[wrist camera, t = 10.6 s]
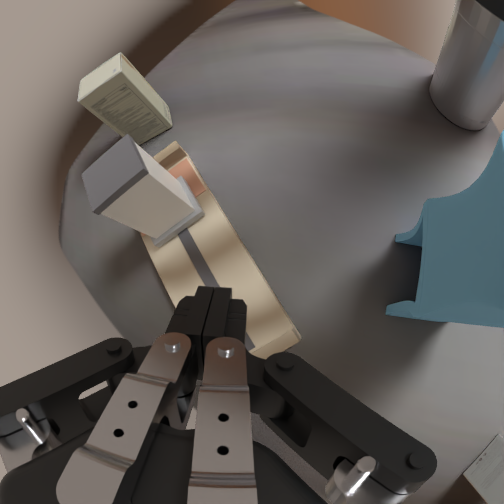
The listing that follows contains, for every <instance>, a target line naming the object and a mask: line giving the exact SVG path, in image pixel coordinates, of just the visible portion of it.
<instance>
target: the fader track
mask: <svg viewBox="0 0 504 504" xmlns="http://www.w3.org/2000/svg"><path fill="white" fill-rule="evenodd" d="M153 159H154V160H155V161H157V162H158V163H159V164H160V165H161V166H162V167H163V168H164V169H165V170H167V171H168V172H169V173H170V174H171V175H172V176H173V177H174V178H176V179H177V178H178V177H179V176H182V177H183V178H184V179H185V180H186V182H187V184H188V185H189V187H190V189H191V191H192V192H193V194H194V196H195V198H196V199H197V201H198V203H199V204H200V206H201V208H202V210H203V211H204V213H205V215H204V216H202V217H201V218H200V219H198V220H197V221H195V222H194V223H192V224H191V225H190V226H188V227H187V228H185V229H184V230H183V231H181V232H180V233H179V234H177V235H176V236H174V237H173V238H172V239H170V240H169V241H168V242H166V243H165V244H163V245H162V246H161V247H156V246H154V244H153V242H152V240H151V237H150V236H148V235H146V234H144V233H142V232H140V231H139V232H140V235H141V237H142V239H143V241H144V244H145V246H146V248H147V250H148V252H149V255H150V257H151V259H152V261H153V263H154V265H155V267H156V270H157V272H158V274H159V276H160V278H161V280H162V282H163V284H164V286H165V288H166V290H167V292H168V294H169V296H170V298H171V300H172V302H173V304H174V306H175V308H176V307H177V305H178V303H179V301H180V300H181V299H183V298H184V297H185V296H195V293H196V290H197V288H198V286H211V287H227V288H232V299H243V300H244V302H245V304H246V305H247V321H246V340H245V347H246V349H247V350H248V351H249V352H250V353H251V354H252V355H254V356H256V357H259V358H263V359H267V358H268V357H269V356H270V355H272V354H274V353H279V352H283V351H284V350H286V349H288V348H289V347H291V346H293V345H294V344H296V343H298V342H299V341H300V340H301V338H302V337H301V335H300V334H299V332H298V331H297V329H296V327H295V326H294V324H293V323H292V321H291V319H290V318H289V316H288V315H287V313H286V311H285V310H284V308H283V307H282V305H281V303H280V302H279V300H278V299H277V297H276V295H275V294H274V292H273V291H272V289H271V287H270V286H269V284H268V283H267V281H266V279H265V278H264V276H263V275H262V273H261V271H260V270H259V268H258V267H257V265H256V263H255V262H254V260H253V259H252V257H251V255H250V254H249V252H248V250H247V249H246V247H245V246H244V244H243V242H242V241H241V239H240V238H239V236H238V234H237V233H236V231H235V230H234V228H233V226H232V225H231V223H230V222H229V220H228V218H227V217H226V215H225V213H224V212H223V210H222V209H221V207H220V205H219V204H218V202H217V201H216V199H215V197H214V196H213V194H212V193H211V191H210V189H209V188H208V186H207V184H206V183H205V181H204V180H203V178H202V176H201V175H200V173H199V172H198V170H197V168H196V167H195V165H194V163H193V162H192V160H191V159H190V157H189V155H188V154H187V153H186V152H185V151H184V150H183V148H182V147H181V146H180V145H179V144H178V143H177V142H176V141H174V142H173V143H171V144H170V145H169V146H167V147H166V148H165V149H163V150H162V151H161V152H159V153H158V154H157V155H155V156H154V157H153Z"/></svg>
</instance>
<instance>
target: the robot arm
mask: <svg viewBox="0 0 504 504" xmlns="http://www.w3.org/2000/svg"><path fill="white" fill-rule="evenodd" d="M429 92H430V96H431V99H432V101H433V103H434V104H435V106H436V107H437V109H438V110H439V111H440V112H441V113H442V114H443V115H444V116H445V117H446V118H447V119H448V120H450V121H451V122H453V123H454V124H456V125H458V126H460V127H462V128H465V129H468V130H480V129H483V128H484V127H485V126H486V125H487V124H488V123H489V121H490V120H491V118H492V117H493V115H494V114H495V113H496V111H497V110H498V109H499V107H500V106H501V104H502V103H503V101H504V0H456V4H455V7H454V11H453V15H452V19H451V22H450V25H449V27H448V30H447V34H446V37H445V40H444V43H443V46H442V50H441V53H440V56H439V59H438V62H437V65H436V68H435V70H434V75H433V78H432V81H431V84H430V86H429ZM246 321H247V305H246V304H245V302H244V300H243V299H232V288H227V287H211V286H198V288H197V290H196V293H195V296H185V297H184V298H183V299H181V300H180V301H179V303H178V305H177V307H176V310H175V312H174V315H173V316H172V318H171V321H170V323H169V325H168V328H167V330H166V332H165V334H163V335H161V336H159V337H158V338H157V339H156V340H155V342H154V343H153V345H151V346H147V347H137V348H132V345H131V343H130V342H129V341H128V340H126V339H123V338H110V339H107V340H105V341H102V342H100V343H98V344H96V345H94V346H91V347H89V348H87V349H85V350H83V351H80V352H78V353H76V354H74V355H72V356H69V357H67V358H65V359H63V360H61V361H58V362H56V363H54V364H52V365H49V366H47V367H45V368H43V369H40V370H38V371H36V372H34V373H31V374H29V375H27V376H25V377H22V378H20V379H18V380H16V381H13V382H11V383H8V384H6V385H4V386H2V387H0V454H1V457H2V460H3V463H4V465H5V468H6V470H7V474H6V475H5V476H4V477H3V479H2V481H1V483H0V504H328V503H327V502H326V501H324V500H323V499H322V498H321V497H320V496H319V495H318V494H317V493H316V492H315V491H314V490H312V489H311V488H310V487H309V486H308V485H307V484H306V483H305V482H304V481H303V480H302V479H301V478H300V477H299V476H298V475H297V474H296V473H295V472H294V471H293V470H292V469H291V468H290V467H289V466H288V465H287V464H286V463H285V462H284V461H283V460H282V459H281V458H280V457H279V456H278V455H277V454H276V453H275V452H273V451H272V450H271V449H269V448H268V447H266V446H264V445H262V444H260V443H258V442H255V441H253V440H252V429H251V413H250V412H253V413H256V414H259V415H260V417H261V419H262V420H263V421H264V422H265V423H266V424H267V425H268V426H269V427H270V428H271V429H272V430H273V431H274V432H275V433H276V434H277V435H278V436H279V437H280V438H281V439H282V440H283V441H284V442H285V443H286V444H287V445H288V446H290V447H291V448H292V449H293V450H294V451H295V452H296V453H297V454H298V455H299V456H300V457H302V458H303V459H304V460H305V461H306V462H307V463H308V464H310V465H311V466H312V467H313V468H314V469H315V470H316V471H318V472H319V473H320V474H321V475H322V476H324V477H325V478H326V479H327V480H328V481H327V483H326V487H325V492H326V495H327V497H328V499H329V500H330V501H331V502H332V503H333V504H401V503H402V502H403V501H405V500H406V499H407V498H408V497H410V496H411V495H412V494H413V493H415V492H416V491H417V490H418V489H419V488H420V487H421V485H422V484H423V483H425V482H426V481H427V480H428V479H429V478H430V477H431V476H432V475H433V474H434V472H435V470H436V467H437V459H436V456H435V454H434V452H433V451H432V450H431V449H430V448H429V447H427V446H426V445H424V444H422V443H421V442H419V441H418V440H416V439H415V438H413V437H412V436H410V435H409V434H407V433H405V432H404V431H402V430H401V429H399V428H398V427H396V426H395V425H393V424H392V423H390V422H389V421H388V420H386V419H385V418H383V417H382V416H380V415H379V414H377V413H376V412H374V411H373V410H371V409H370V408H369V407H367V406H366V405H364V404H363V403H361V402H360V401H359V400H357V399H356V398H354V397H353V396H352V395H350V394H349V393H347V392H346V391H345V390H343V389H342V388H340V387H339V386H338V385H336V384H335V383H334V382H332V381H331V380H329V379H328V378H327V377H325V376H324V375H323V374H321V373H320V372H319V371H317V370H316V369H315V368H313V367H312V366H311V365H309V364H308V363H307V362H305V361H304V360H303V359H301V358H300V357H299V356H297V355H295V354H292V353H288V352H279V353H274V354H272V355H270V356H269V357H268V358H267V359H263V358H259V357H256V356H254V355H252V354H251V353H250V352H249V351H248V350H247V349H246V347H245V340H246ZM197 379H199V380H203V383H202V385H200V388H199V396H198V406H197V416H196V427H195V429H191V430H185V429H186V426H187V423H188V419H189V417H190V413H191V410H192V407H193V404H194V401H195V398H196V394H197V391H196V381H197ZM103 381H107V384H108V386H107V387H105V388H103V389H101V390H99V391H97V392H96V393H94V394H91V395H90V396H88V397H86V398H84V399H80V400H79V399H78V398H79V396H80V394H81V393H82V392H84V391H86V390H88V389H90V388H92V387H94V386H96V385H98V384H100V383H102V382H103Z"/></svg>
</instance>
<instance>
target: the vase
mask: <svg viewBox="0 0 504 504" xmlns="http://www.w3.org/2000/svg"><path fill="white" fill-rule="evenodd" d="M395 242H399V243H404V244H410V245H416V246H421V247H422V257H421V268H420V275H419V282H418V288H417V294H416V301H401V302H397V303H394V304H390V305H387V308H386V314H385V315H391V316H398V317H405V318H413V319H420V320H428V321H436V322H455V323H464V324H473V325H482V326H491V327H502V328H504V130H503V132H502V133H501V135H500V137H499V140H498V142H497V145H496V147H495V150H494V152H493V155H492V157H491V159H490V161H489V163H488V165H487V167H486V168H485V170H484V171H483V173H482V174H481V175H480V177H479V178H478V179H477V180H476V181H475V182H474V183H473V184H472V185H471V186H470V187H469V188H467V189H465V190H464V191H462V192H460V193H458V194H455V195H451V196H447V197H441V198H431V199H427V201H426V202H425V203H424V204H423V209H422V213H421V216H420V219H419V221H418V223H417V225H416V226H415V227H414V229H412V230H411V231H409V232H406V233H402V234H396V238H395Z"/></svg>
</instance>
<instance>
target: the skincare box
mask: <svg viewBox="0 0 504 504" xmlns="http://www.w3.org/2000/svg"><path fill="white" fill-rule="evenodd" d="M78 102H79V103H80V104H81V105H83V106H84V107H86V108H87V109H88V110H89V111H90V112H92V113H93V114H94V115H96V116H97V117H98V118H99V119H101V120H102V121H103V122H104V123H105V124H107V125H108V126H109V127H110V128H112V129H113V130H114V131H115V132H117V133H118V134H119V135H120V136H122V137H124V136H125V135H126V134H129V135H130V136H131V137H132V138H133V140H134V142H135V143H136V144H137V145H140V144H142V143H144V142H146V141H147V140H149V139H151V138H153V137H155V136H156V135H158V134H160V133H162V132H164V131H165V130H167V129H169V128H171V127H172V120H171V115H170V111H169V108H168V106H167V104H166V103H165V102H164V101H163V100H162V99H161V97H160V96H159V95H158V94H157V93H156V92H155V90H154V89H153V88H152V87H151V86H150V85H149V84H148V82H147V81H146V80H145V79H144V78H143V77H142V76H141V74H140V73H139V72H138V71H137V70H136V69H135V68H134V67H133V66H132V64H131V63H130V62H129V61H128V60H127V59H126V57H125V56H124V55H123V54H122V53H119V54H117V55H115V56H114V57H112V58H111V59H109V60H108V61H106V62H105V63H103V64H102V65H101V66H99V67H98V68H96V69H95V70H93V71H92V72H91V73H89V74H88V75H87V76H85V77H84V78H83V79H81V81H80V86H79V93H78Z"/></svg>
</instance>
